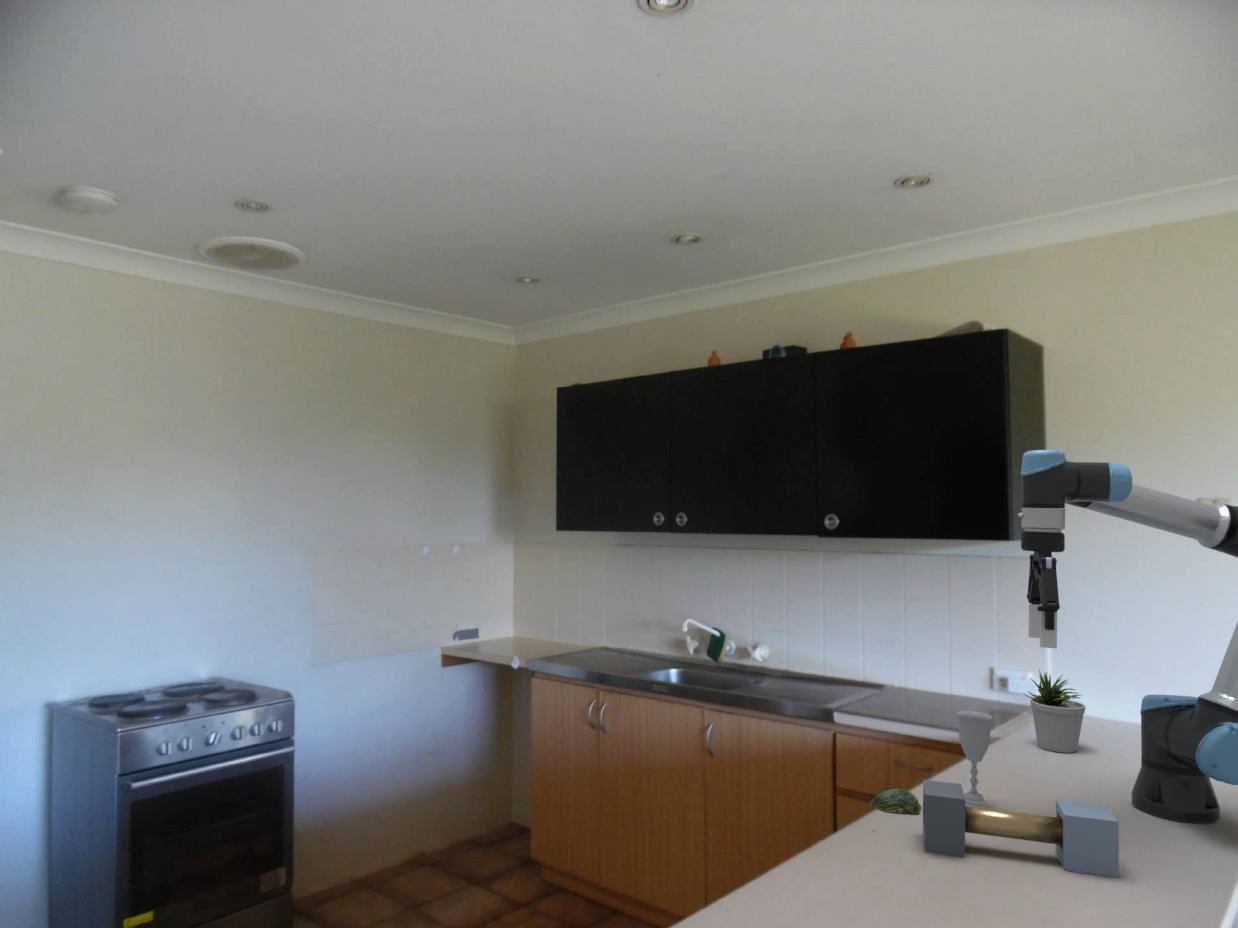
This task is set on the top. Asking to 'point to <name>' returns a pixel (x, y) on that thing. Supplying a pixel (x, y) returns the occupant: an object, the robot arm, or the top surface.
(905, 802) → the seashell
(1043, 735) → the potted plant
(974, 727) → the chalice
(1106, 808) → the blue-grey cube-like block
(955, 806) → the socket
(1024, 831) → the slip tube
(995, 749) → the top surface
